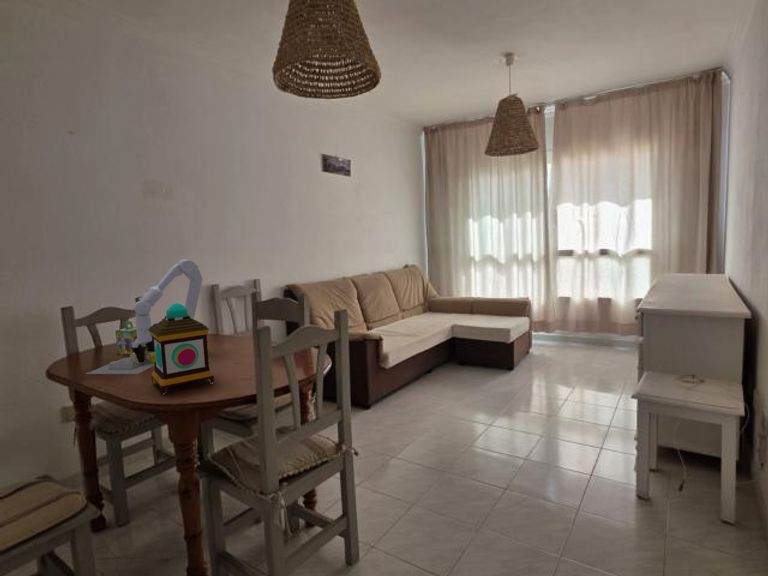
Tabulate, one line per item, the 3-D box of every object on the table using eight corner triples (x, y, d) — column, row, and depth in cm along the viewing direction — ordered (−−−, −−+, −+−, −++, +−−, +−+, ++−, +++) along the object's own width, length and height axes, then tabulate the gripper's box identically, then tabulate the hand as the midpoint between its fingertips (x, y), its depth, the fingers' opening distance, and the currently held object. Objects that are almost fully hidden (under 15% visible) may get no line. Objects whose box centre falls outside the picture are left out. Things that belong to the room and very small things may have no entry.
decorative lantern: (147, 384, 165) (140, 303, 162) (203, 373, 177) (197, 297, 174) (158, 398, 150) (150, 309, 146) (219, 385, 161) (213, 302, 158)
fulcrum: (138, 366, 187) (137, 360, 186) (131, 369, 183) (131, 363, 182) (115, 366, 188) (114, 360, 187) (108, 369, 184) (108, 363, 183)
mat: (171, 358, 200) (171, 357, 200) (137, 375, 177) (137, 373, 177) (125, 358, 203) (125, 357, 202) (85, 375, 179) (85, 373, 179)
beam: (162, 360, 196) (162, 351, 195) (157, 363, 192) (156, 353, 191) (136, 360, 197) (136, 351, 196) (130, 363, 193) (130, 354, 192)
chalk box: (134, 355, 209) (131, 324, 207) (116, 355, 210) (113, 323, 208) (147, 350, 218) (145, 320, 216) (130, 350, 219) (128, 320, 217)
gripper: (145, 325, 200) (148, 355, 202) (123, 332, 186) (127, 364, 187) (160, 325, 199) (163, 355, 201) (140, 332, 185) (143, 364, 187)
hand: (146, 359), depth 194 cm, fingers open, 7 cm apart
